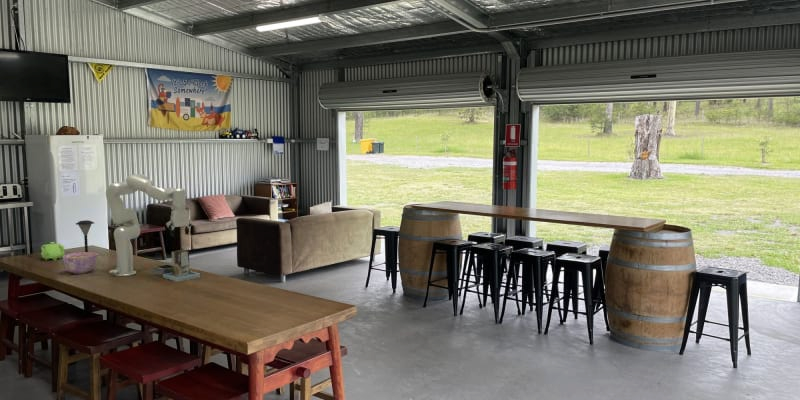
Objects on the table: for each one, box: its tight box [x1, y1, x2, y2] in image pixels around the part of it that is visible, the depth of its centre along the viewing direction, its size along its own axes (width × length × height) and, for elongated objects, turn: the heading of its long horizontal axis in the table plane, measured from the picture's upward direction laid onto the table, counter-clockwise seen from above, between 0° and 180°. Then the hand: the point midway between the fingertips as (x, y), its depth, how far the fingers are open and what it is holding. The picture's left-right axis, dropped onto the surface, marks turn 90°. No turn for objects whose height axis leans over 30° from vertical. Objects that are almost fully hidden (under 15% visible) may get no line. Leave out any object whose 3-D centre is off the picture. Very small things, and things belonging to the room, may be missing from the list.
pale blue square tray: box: [162, 270, 201, 283], centre depth 358 cm, size 16×16×2 cm
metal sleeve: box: [153, 263, 173, 277], centre depth 368 cm, size 10×13×5 cm
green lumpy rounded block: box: [40, 241, 66, 261], centre depth 415 cm, size 16×14×13 cm
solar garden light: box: [75, 219, 95, 252], centre depth 402 cm, size 12×12×30 cm
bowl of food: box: [62, 251, 98, 275], centre depth 372 cm, size 20×20×12 cm
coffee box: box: [171, 249, 191, 277], centre depth 357 cm, size 9×6×16 cm
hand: (179, 235), depth 356 cm, fingers open, 9 cm apart
